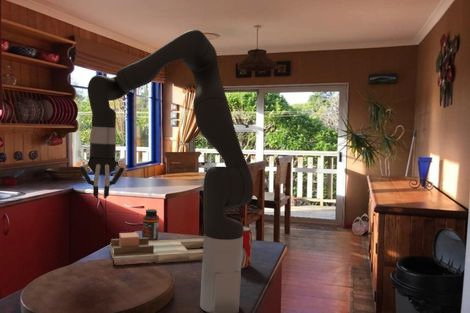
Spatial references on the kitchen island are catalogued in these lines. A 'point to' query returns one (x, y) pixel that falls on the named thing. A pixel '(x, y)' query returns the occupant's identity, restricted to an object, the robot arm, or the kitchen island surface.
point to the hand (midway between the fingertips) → (101, 197)
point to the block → (128, 239)
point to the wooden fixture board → (159, 250)
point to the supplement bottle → (150, 225)
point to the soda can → (246, 247)
